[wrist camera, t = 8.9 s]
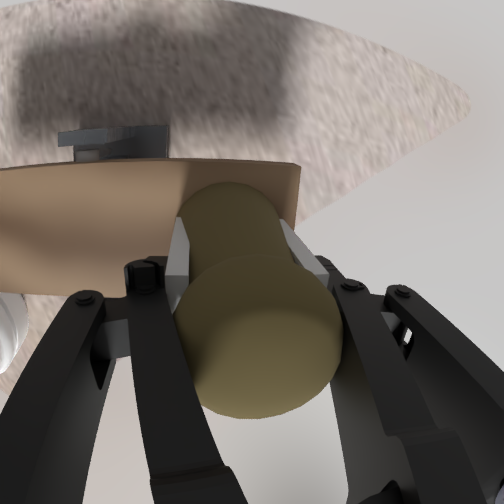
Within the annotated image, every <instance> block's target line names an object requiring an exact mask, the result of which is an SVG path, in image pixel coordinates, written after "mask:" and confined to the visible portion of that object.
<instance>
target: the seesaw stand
mask: <svg viewBox="0 0 504 504" xmlns="http://www.w3.org/2000/svg"><path fill="white" fill-rule="evenodd" d="M72 145H73V147H74V161H76V151H79V150H87V149H99V160H107V159H138V158H167V150H168V126H130V127H110V128H94V129H82V130H74V131H68V132H59V133H58V147H61V146H72ZM115 299H120V298H111V297H104V300H105V301H109V300H115Z"/></svg>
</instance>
